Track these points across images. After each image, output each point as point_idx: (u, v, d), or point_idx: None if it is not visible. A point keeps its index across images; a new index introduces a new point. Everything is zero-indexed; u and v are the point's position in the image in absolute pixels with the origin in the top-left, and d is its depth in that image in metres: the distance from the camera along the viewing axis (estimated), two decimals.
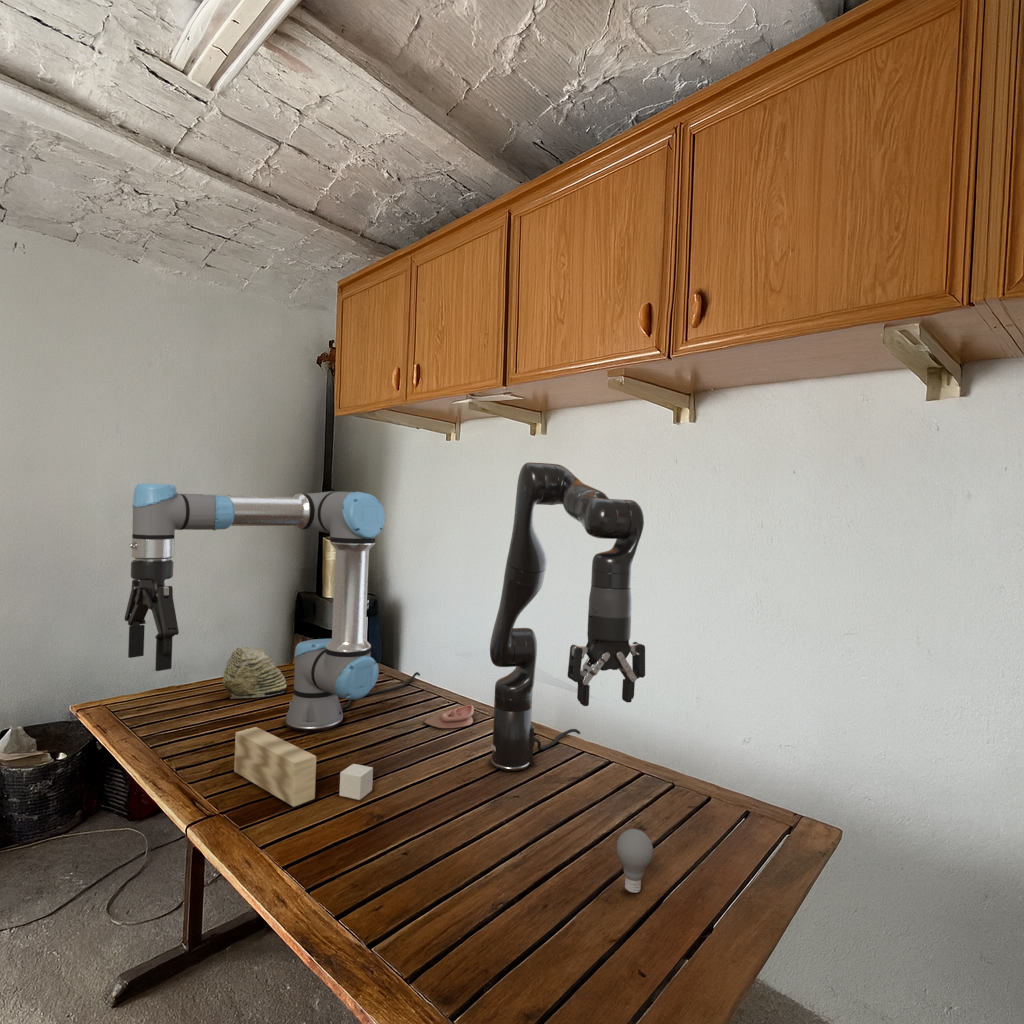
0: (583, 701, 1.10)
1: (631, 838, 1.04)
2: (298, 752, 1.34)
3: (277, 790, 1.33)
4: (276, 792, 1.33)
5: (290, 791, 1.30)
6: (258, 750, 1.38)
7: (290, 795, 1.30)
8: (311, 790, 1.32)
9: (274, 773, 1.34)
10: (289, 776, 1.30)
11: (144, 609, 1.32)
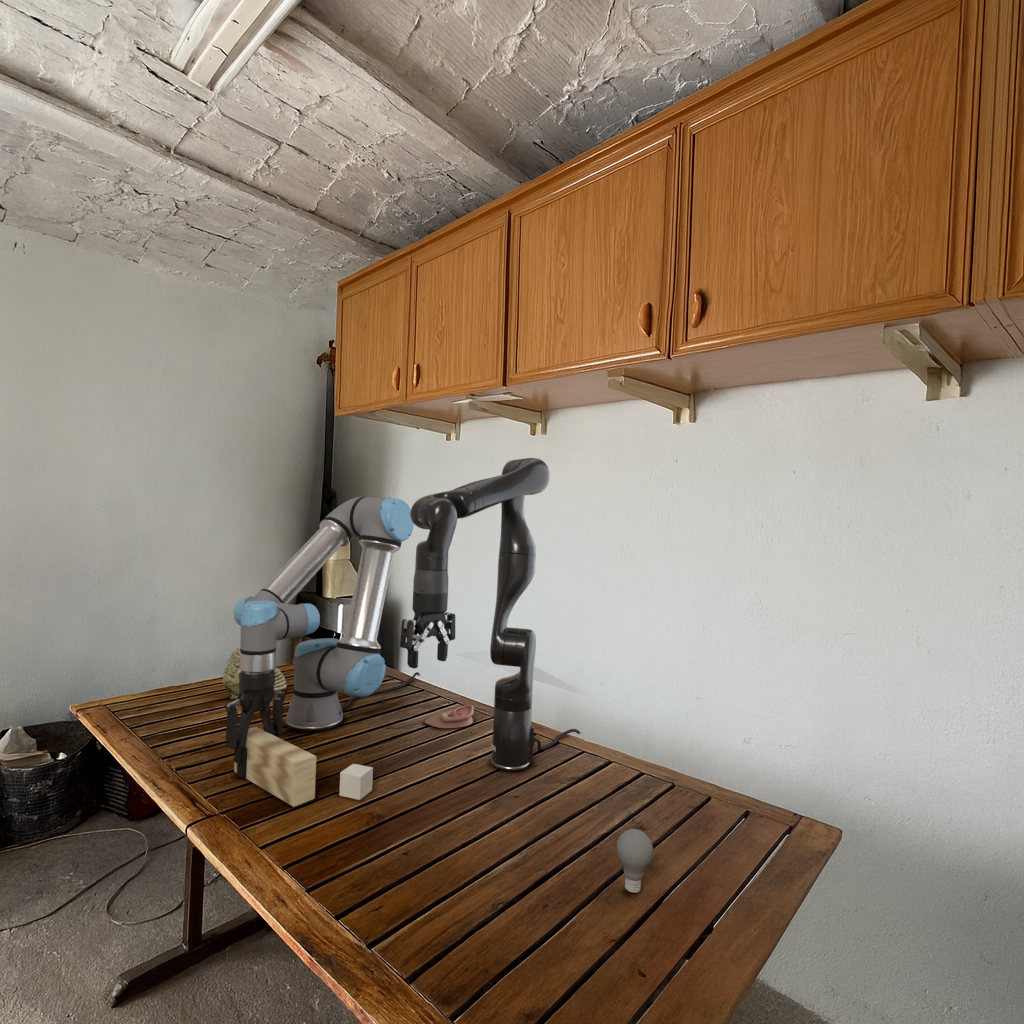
0: (413, 664, 1.33)
1: (631, 838, 1.04)
2: (298, 752, 1.34)
3: (277, 790, 1.33)
4: (276, 792, 1.33)
5: (290, 791, 1.30)
6: (258, 750, 1.38)
7: (290, 795, 1.30)
8: (311, 790, 1.32)
9: (274, 773, 1.34)
10: (289, 776, 1.30)
11: (264, 720, 1.45)
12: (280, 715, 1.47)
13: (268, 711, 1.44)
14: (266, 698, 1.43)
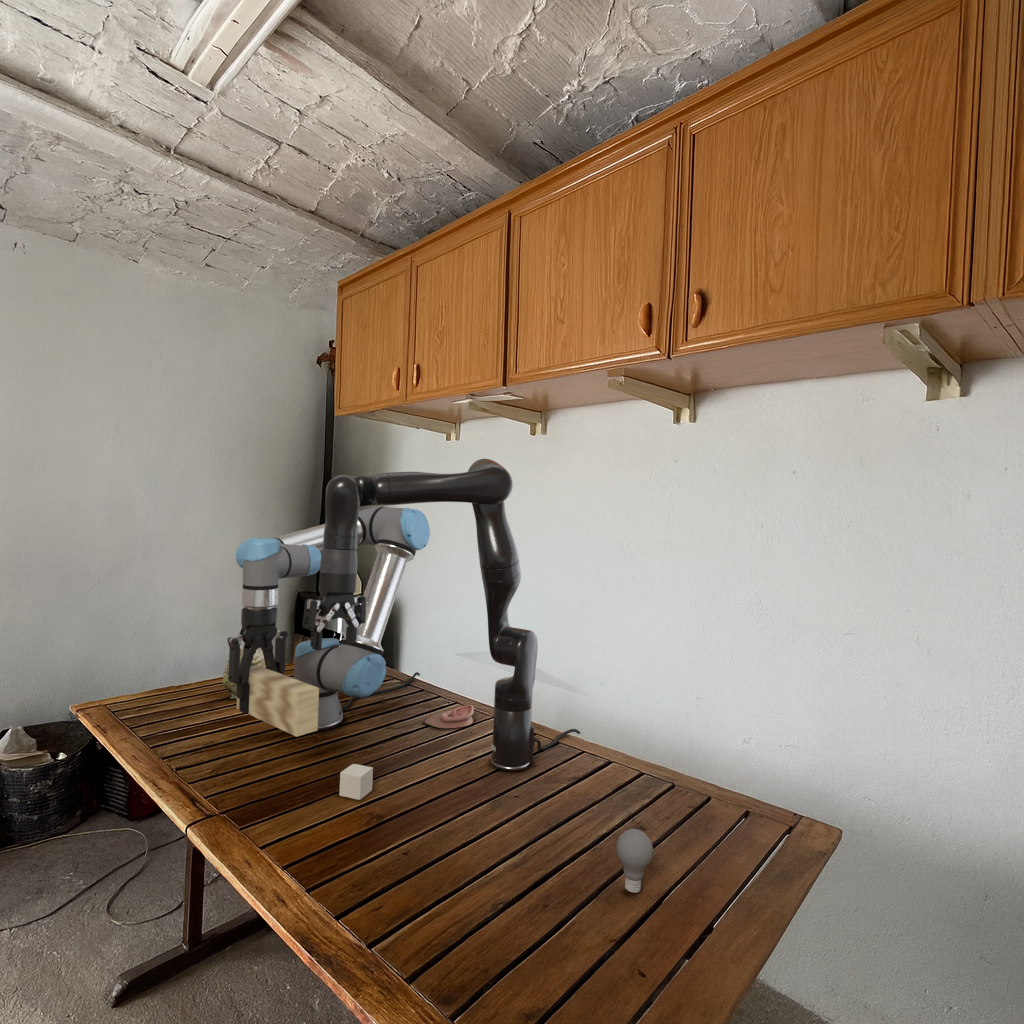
0: (316, 646, 1.29)
1: (631, 838, 1.04)
2: (300, 685, 1.34)
3: (279, 722, 1.33)
4: (279, 724, 1.33)
5: (292, 721, 1.30)
6: (261, 684, 1.37)
7: (293, 726, 1.30)
8: (313, 722, 1.32)
9: (276, 705, 1.33)
10: (292, 706, 1.30)
11: (267, 657, 1.44)
12: (282, 653, 1.46)
13: (270, 648, 1.43)
14: (268, 635, 1.43)
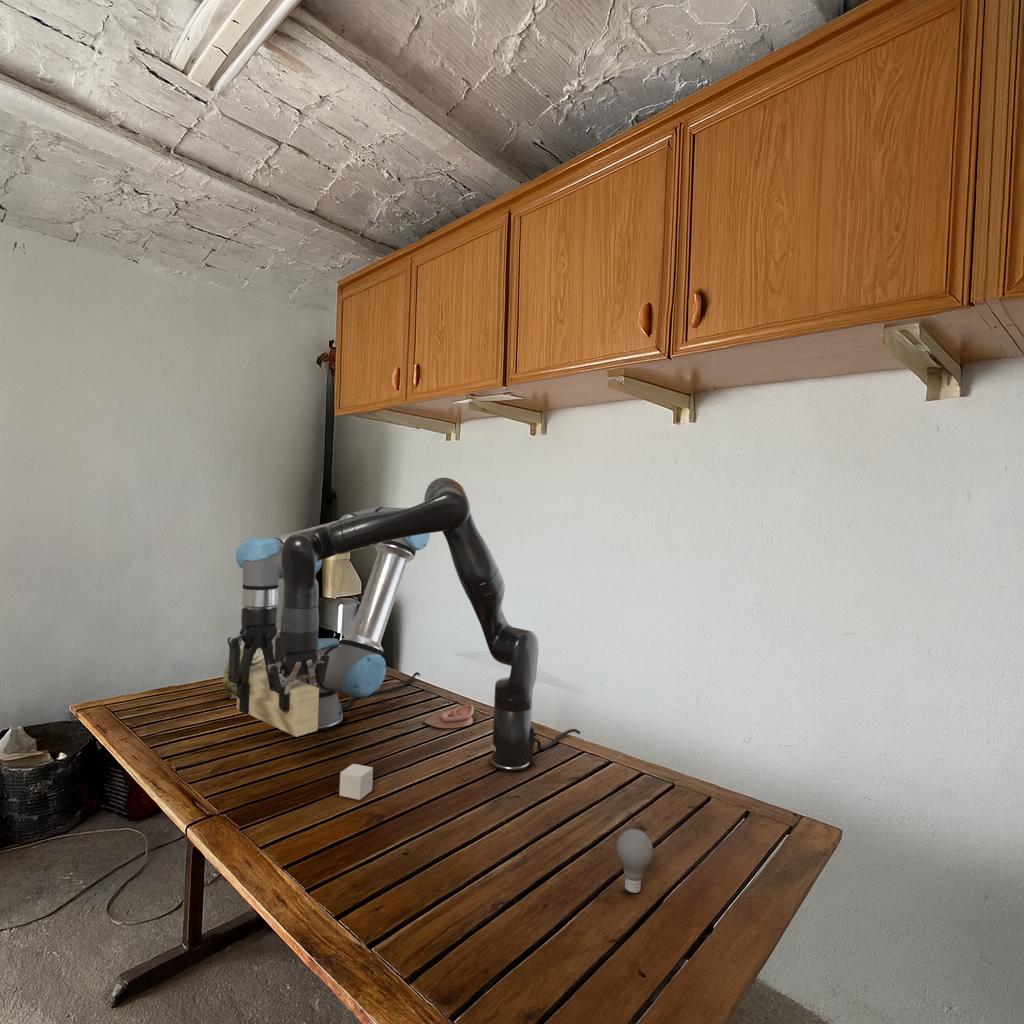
0: (284, 708, 1.30)
1: (631, 838, 1.04)
2: (300, 685, 1.34)
3: (279, 722, 1.33)
4: (279, 724, 1.33)
5: (292, 721, 1.30)
6: (261, 684, 1.37)
7: (293, 726, 1.30)
8: (313, 722, 1.32)
9: (276, 705, 1.33)
10: (292, 706, 1.30)
11: (267, 657, 1.44)
12: None
13: (270, 648, 1.43)
14: (268, 634, 1.43)
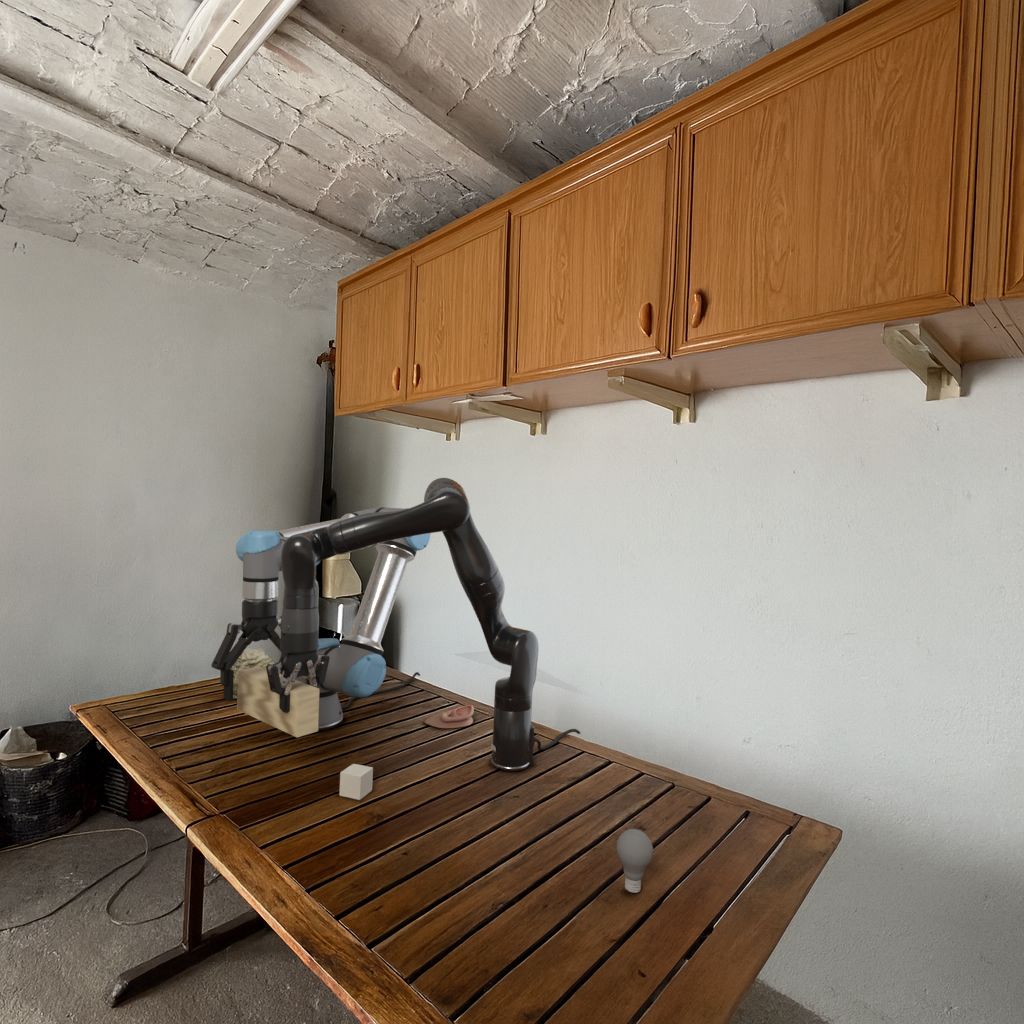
0: (285, 709, 1.30)
1: (631, 838, 1.04)
2: (301, 686, 1.34)
3: (280, 722, 1.33)
4: (279, 725, 1.33)
5: (293, 722, 1.30)
6: (261, 685, 1.37)
7: (293, 726, 1.29)
8: (314, 722, 1.32)
9: (277, 706, 1.33)
10: (292, 707, 1.30)
11: (277, 644, 1.46)
12: None
13: (276, 637, 1.44)
14: (269, 627, 1.43)
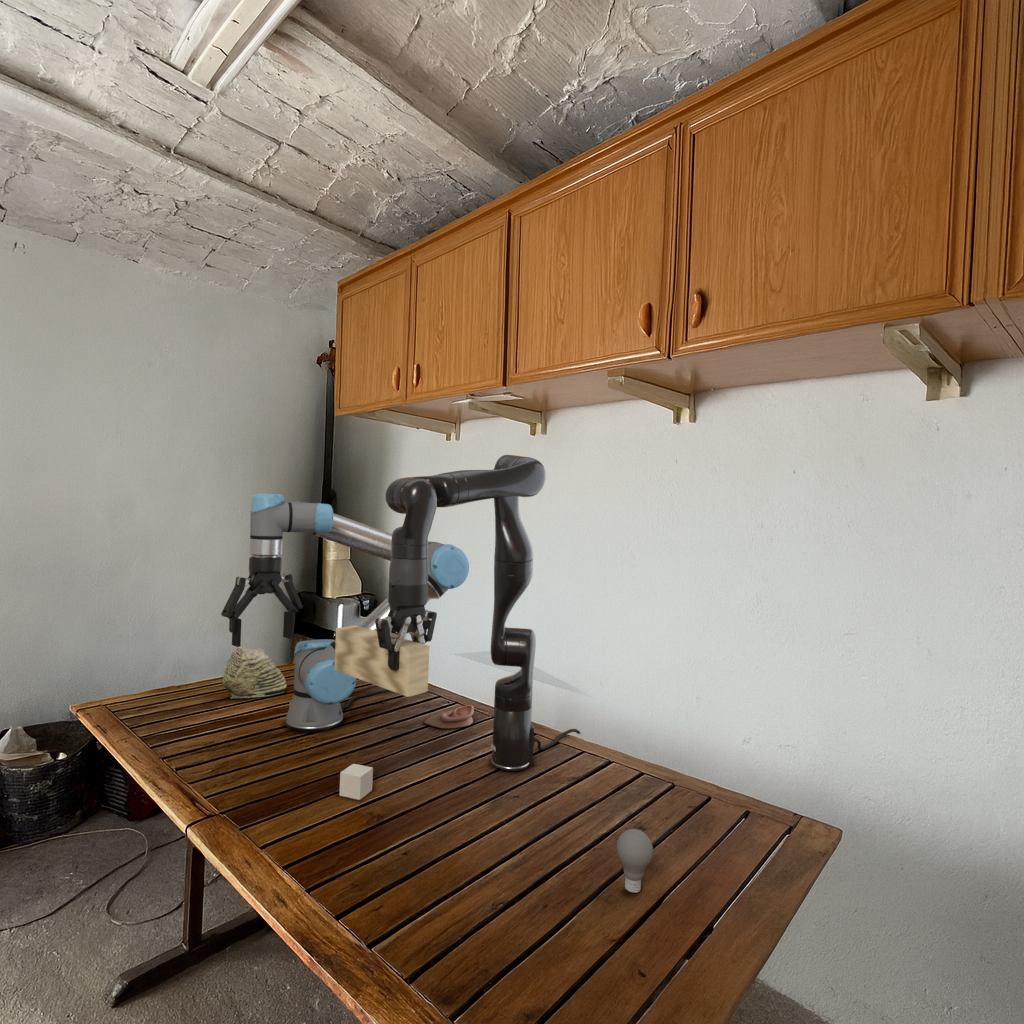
0: (394, 666, 1.21)
1: (631, 838, 1.04)
2: (408, 643, 1.24)
3: (387, 682, 1.24)
4: (386, 685, 1.24)
5: (403, 680, 1.20)
6: (364, 643, 1.28)
7: (403, 685, 1.20)
8: (424, 682, 1.23)
9: (383, 664, 1.24)
10: (403, 664, 1.21)
11: (280, 598, 1.60)
12: (294, 593, 1.62)
13: (280, 591, 1.58)
14: (273, 581, 1.56)
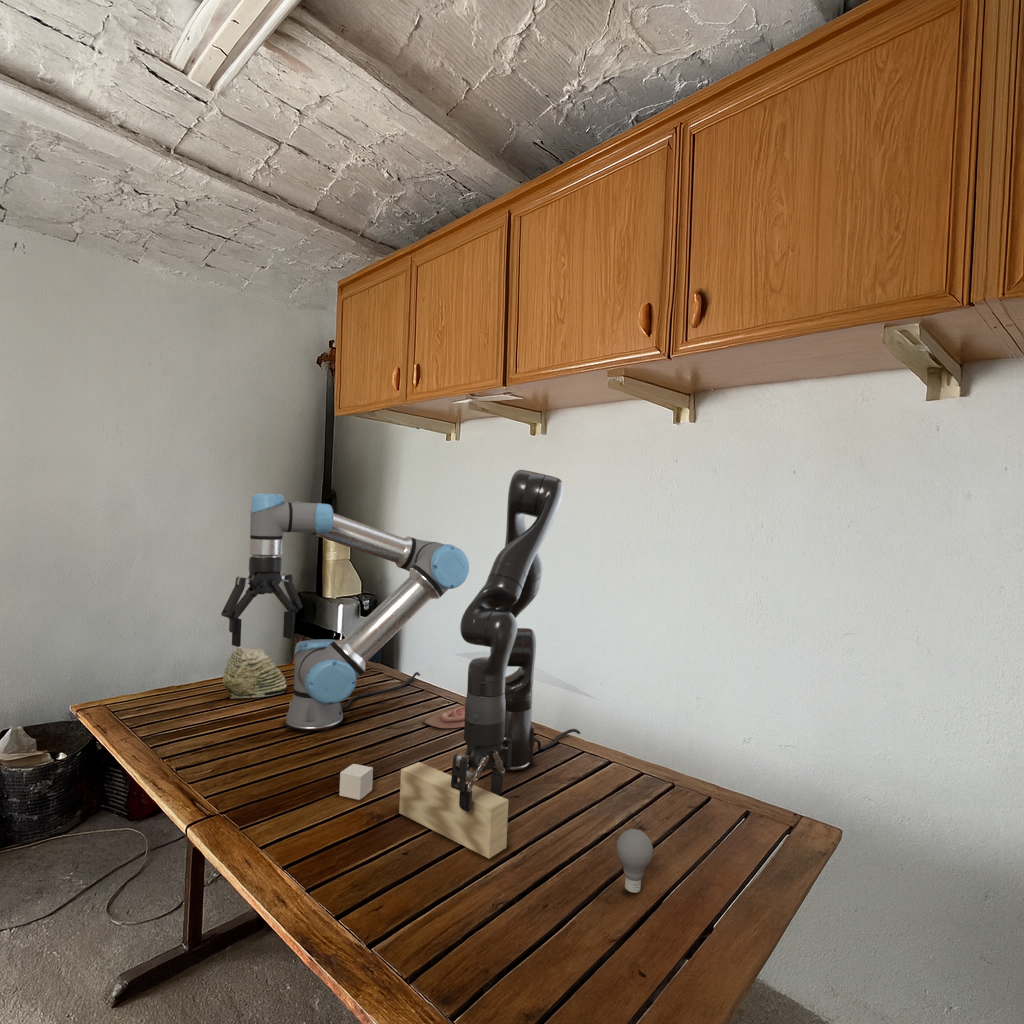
0: (466, 807, 1.14)
1: (631, 838, 1.04)
2: (485, 795, 1.18)
3: (463, 838, 1.17)
4: (462, 841, 1.17)
5: (483, 840, 1.14)
6: (435, 791, 1.22)
7: (483, 845, 1.14)
8: (503, 838, 1.17)
9: (458, 818, 1.18)
10: (483, 823, 1.14)
11: (280, 598, 1.60)
12: (294, 593, 1.62)
13: (280, 591, 1.58)
14: (273, 581, 1.56)
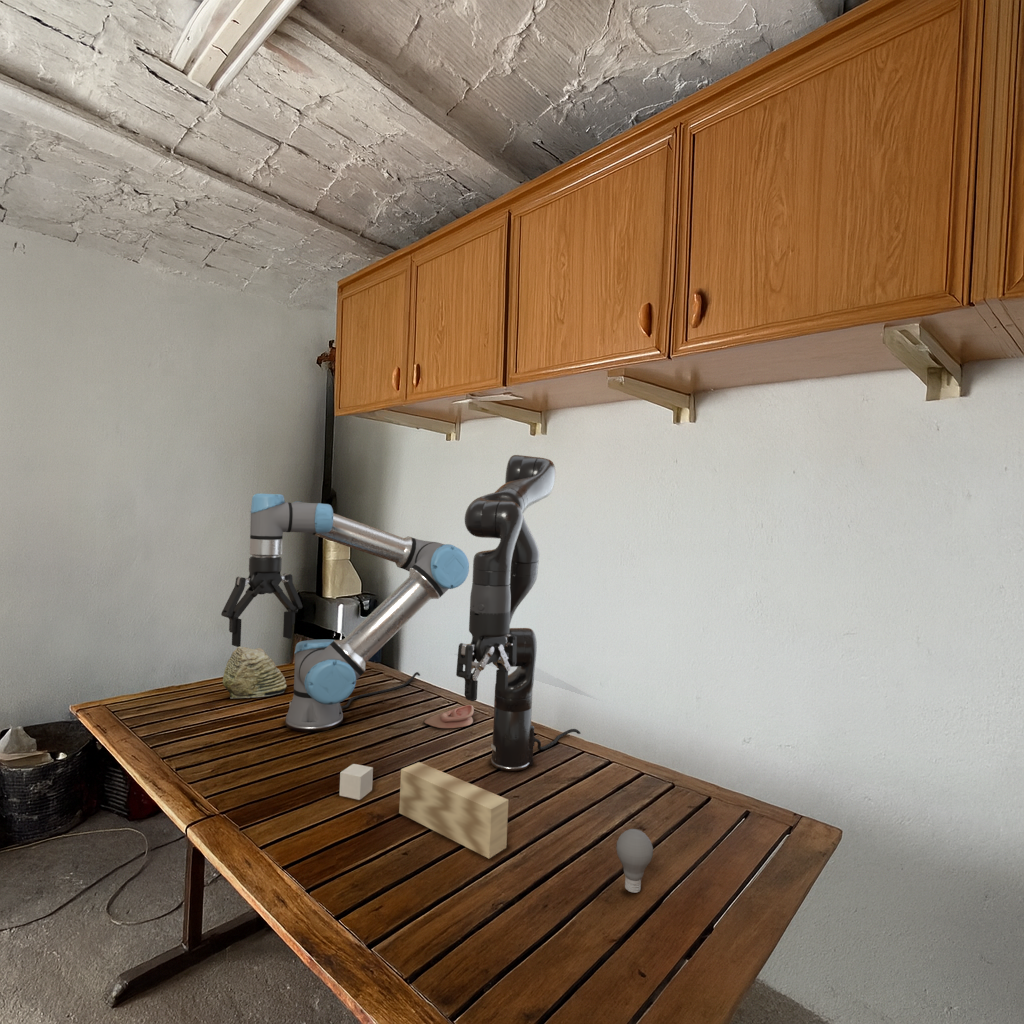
0: (472, 696, 1.13)
1: (631, 838, 1.04)
2: (485, 795, 1.18)
3: (463, 838, 1.17)
4: (462, 841, 1.17)
5: (483, 840, 1.14)
6: (435, 791, 1.22)
7: (483, 845, 1.14)
8: (503, 838, 1.17)
9: (458, 818, 1.18)
10: (483, 823, 1.14)
11: (280, 598, 1.60)
12: (294, 593, 1.62)
13: (280, 591, 1.58)
14: (273, 581, 1.56)
